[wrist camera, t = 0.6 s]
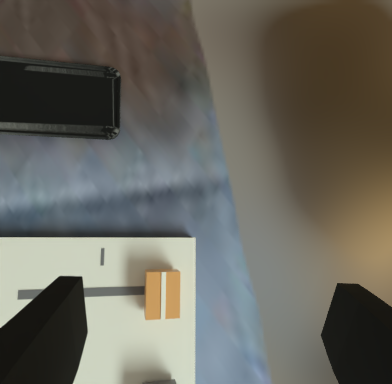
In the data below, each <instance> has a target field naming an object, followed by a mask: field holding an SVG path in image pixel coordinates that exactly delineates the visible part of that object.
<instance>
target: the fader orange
mask: <svg viewBox="0 0 392 384" xmlns="http://www.w3.org/2000/svg"><path fill="white" fill-rule="evenodd" d="M144 315H145V320H157V319H161V320H163V319H175V318H180V271H179V270H177V269H145V297H144Z"/></svg>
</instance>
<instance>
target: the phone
mask: <svg viewBox="0 0 392 384" xmlns="http://www.w3.org/2000/svg"><path fill="white" fill-rule="evenodd" d="M120 98H121V77H120V74H119V72H118V71H117V70H116V69H114V68H112V67H106V66H96V65H86V64H76V63H66V62H56V61H46V60H37V59H27V58H17V57H7V56H0V134H8V135H28V136H47V137H67V138H86V139H106V140H110V139H114V138H115V137H117V136H118V134H119V131H120Z"/></svg>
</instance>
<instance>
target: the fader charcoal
mask: <svg viewBox="0 0 392 384" xmlns="http://www.w3.org/2000/svg"><path fill="white" fill-rule="evenodd" d="M142 384H176V381H175V379H171V380H161V381H151V382H142Z"/></svg>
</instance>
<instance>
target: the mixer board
mask: <svg viewBox="0 0 392 384" xmlns="http://www.w3.org/2000/svg"><path fill="white" fill-rule="evenodd" d="M145 269H177V270H179V271H180V318H175V319H163V320H161V319H157V320H145V315H144V297H145ZM59 276H82V278H83V287H84V297H85V307H86V317H87V327H88V334H87V338H86V341H85V345H84V349H83V353H82V357H81V361H80V364H79V368H78V371H77V374H76V377H75V379H74V382H73V384H142V382H151V381H161V380H171V379H175V381H176V384H195V238H120V237H0V328H1V327H2V326H3V325H4V324H6V323H7V322H8V321H9V320H10V319H11V318H13V317H14V316H15V315H16V314H17V313H18V312H19V311H20V310H22V309H23V308H24V307H25V306H26V305H27V304H28V303H29V302H31V301H32V300H33V299H34V298H35V297H36V296H37V295H38V294H39V293H41V292H42V291H43V290H44V289H45V288H46V287H47V286H48V285H50V284H51V283H52V282H53V281H54V280H55V279H57V278H58V277H59Z"/></svg>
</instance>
